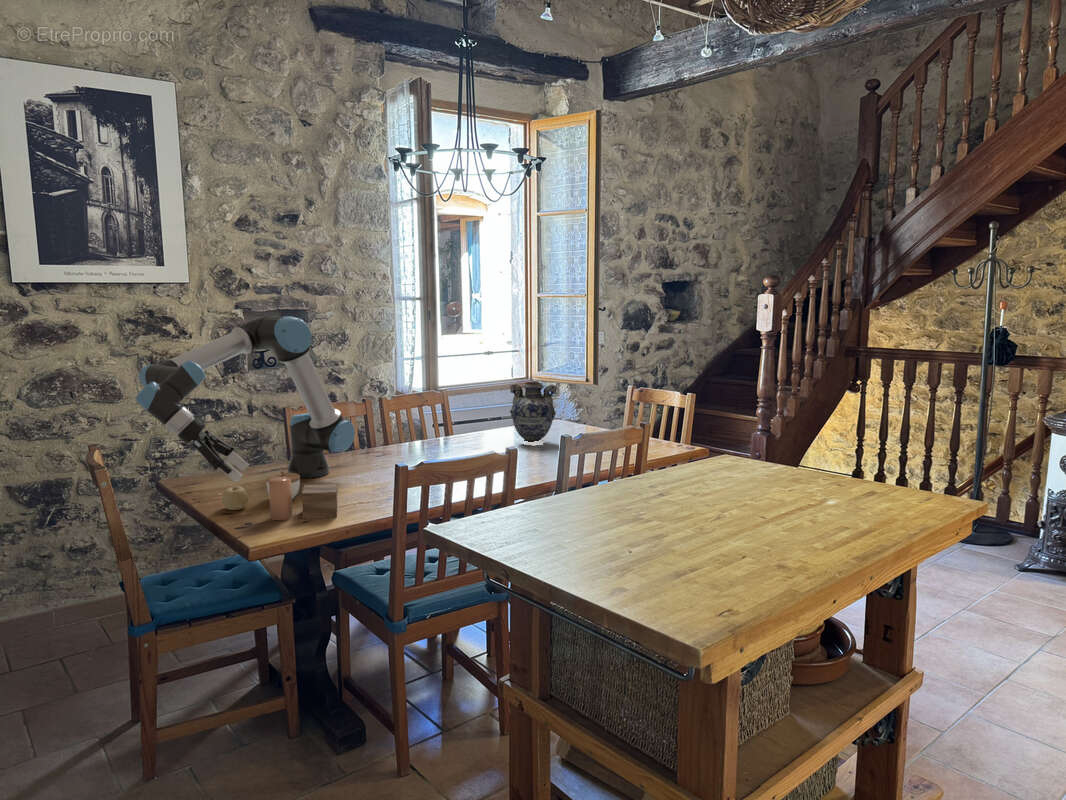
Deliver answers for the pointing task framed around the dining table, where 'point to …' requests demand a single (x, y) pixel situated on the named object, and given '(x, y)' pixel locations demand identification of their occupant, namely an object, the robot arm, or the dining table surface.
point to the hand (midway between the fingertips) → (243, 473)
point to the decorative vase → (532, 410)
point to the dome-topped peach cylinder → (280, 498)
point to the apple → (235, 498)
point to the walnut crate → (319, 501)
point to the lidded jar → (294, 481)
